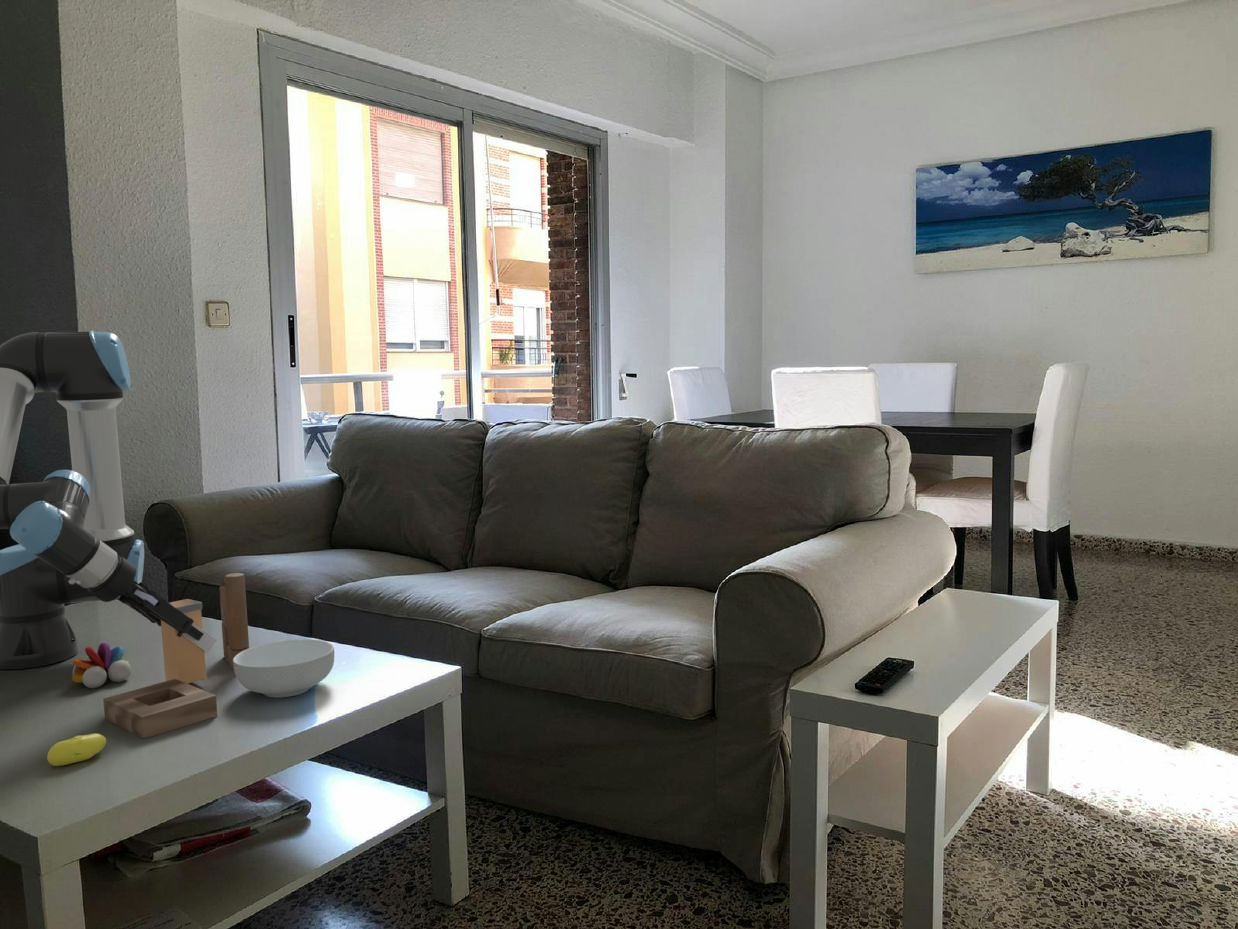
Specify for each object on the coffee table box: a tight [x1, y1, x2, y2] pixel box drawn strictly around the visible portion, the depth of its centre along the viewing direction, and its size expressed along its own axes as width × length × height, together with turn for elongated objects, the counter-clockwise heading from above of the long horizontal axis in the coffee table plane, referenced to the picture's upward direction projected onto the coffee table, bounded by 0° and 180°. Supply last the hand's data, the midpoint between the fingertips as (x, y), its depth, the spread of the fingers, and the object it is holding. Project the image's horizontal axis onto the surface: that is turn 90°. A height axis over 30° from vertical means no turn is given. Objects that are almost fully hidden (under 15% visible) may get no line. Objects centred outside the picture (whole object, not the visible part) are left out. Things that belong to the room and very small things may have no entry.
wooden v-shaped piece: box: [218, 572, 251, 671], centre depth 187 cm, size 4×11×18 cm, turn 31°
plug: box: [160, 598, 207, 684], centre depth 173 cm, size 5×5×14 cm
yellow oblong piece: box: [46, 732, 107, 767], centre depth 142 cm, size 4×8×4 cm, turn 134°
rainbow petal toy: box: [72, 641, 132, 689], centre depth 178 cm, size 8×10×7 cm
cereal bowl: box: [233, 638, 335, 699], centre depth 171 cm, size 17×17×7 cm
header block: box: [102, 679, 218, 740], centre depth 159 cm, size 14×12×4 cm
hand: (203, 643), depth 176 cm, fingers closed on plug, 5 cm apart
